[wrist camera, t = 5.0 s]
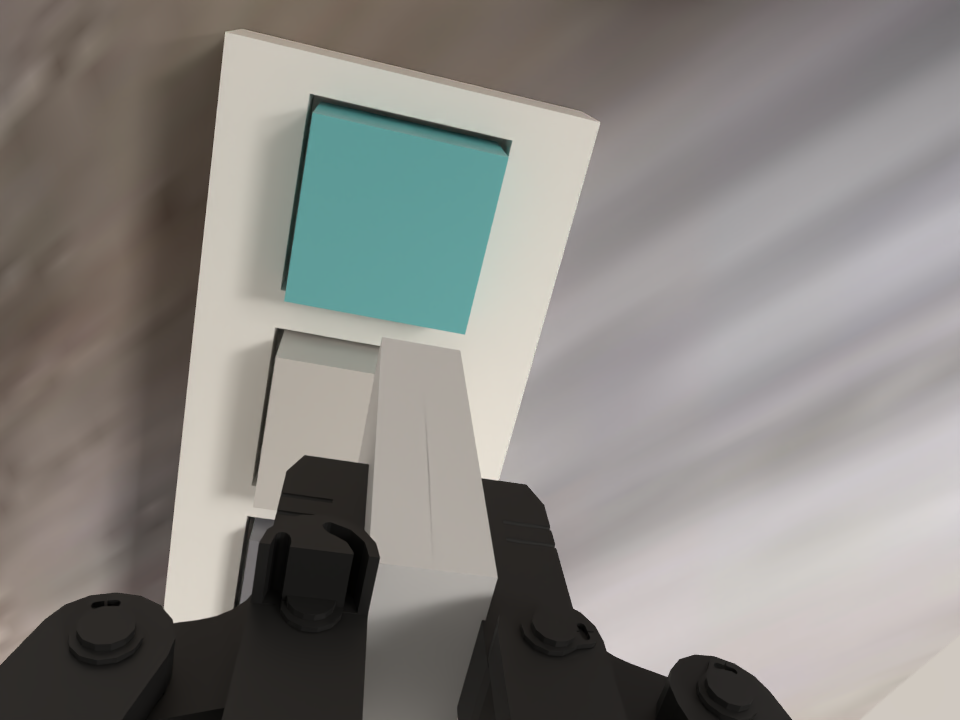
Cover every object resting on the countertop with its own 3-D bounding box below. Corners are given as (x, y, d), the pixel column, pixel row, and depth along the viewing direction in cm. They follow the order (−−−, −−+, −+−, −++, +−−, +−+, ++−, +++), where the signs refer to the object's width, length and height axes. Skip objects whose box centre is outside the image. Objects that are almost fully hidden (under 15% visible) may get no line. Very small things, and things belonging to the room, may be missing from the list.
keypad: (581, 111, 29) (600, 122, 26) (435, 640, 38) (439, 689, 36) (242, 28, 27) (225, 31, 24) (175, 611, 36) (158, 661, 34)
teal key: (497, 141, 27) (508, 157, 25) (458, 304, 30) (464, 334, 27) (320, 101, 26) (312, 112, 24) (294, 272, 29) (284, 301, 26)
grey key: (446, 352, 30) (452, 387, 28) (415, 485, 33) (416, 529, 30) (286, 324, 29) (275, 357, 27) (264, 463, 32) (252, 507, 29)
